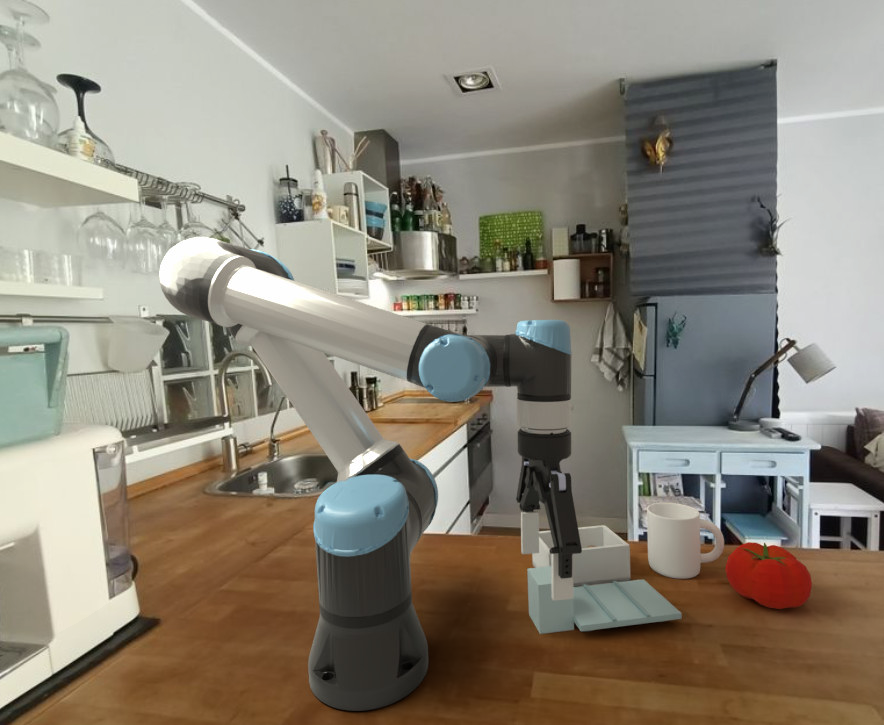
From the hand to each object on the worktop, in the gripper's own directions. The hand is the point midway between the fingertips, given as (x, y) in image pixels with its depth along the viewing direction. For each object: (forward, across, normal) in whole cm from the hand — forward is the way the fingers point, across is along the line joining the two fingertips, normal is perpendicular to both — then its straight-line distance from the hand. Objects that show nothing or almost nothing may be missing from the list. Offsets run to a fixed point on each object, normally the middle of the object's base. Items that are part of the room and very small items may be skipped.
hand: (544, 573), depth 71 cm
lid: (+7, 0, -8) cm, 11 cm away
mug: (+7, +10, -29) cm, 31 cm away
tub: (+7, +13, -11) cm, 18 cm away
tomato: (+6, -1, -35) cm, 35 cm away
